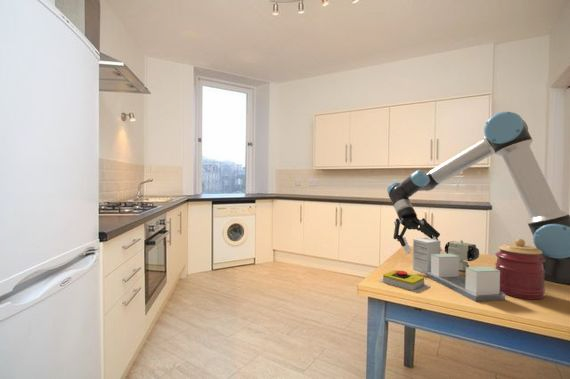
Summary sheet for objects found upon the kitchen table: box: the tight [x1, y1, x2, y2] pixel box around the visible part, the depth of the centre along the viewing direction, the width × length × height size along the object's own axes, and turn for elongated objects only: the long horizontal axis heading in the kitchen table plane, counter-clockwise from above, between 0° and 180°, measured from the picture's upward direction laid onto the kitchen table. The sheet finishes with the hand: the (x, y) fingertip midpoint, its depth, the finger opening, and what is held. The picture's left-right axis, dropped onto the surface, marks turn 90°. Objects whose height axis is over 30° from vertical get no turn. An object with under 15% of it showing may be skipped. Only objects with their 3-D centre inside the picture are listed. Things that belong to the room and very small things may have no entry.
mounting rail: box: [426, 272, 506, 303], centre depth 103 cm, size 24×10×2 cm, turn 9°
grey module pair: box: [431, 253, 500, 295], centre depth 103 cm, size 22×8×7 cm, turn 9°
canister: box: [494, 238, 546, 300], centre depth 99 cm, size 13×13×18 cm
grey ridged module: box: [412, 237, 441, 275], centre depth 122 cm, size 7×7×13 cm
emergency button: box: [378, 270, 431, 293], centre depth 107 cm, size 9×4×15 cm
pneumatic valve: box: [444, 239, 480, 272], centre depth 124 cm, size 6×12×12 cm, turn 32°
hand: (424, 252), depth 123 cm, fingers open, 13 cm apart
